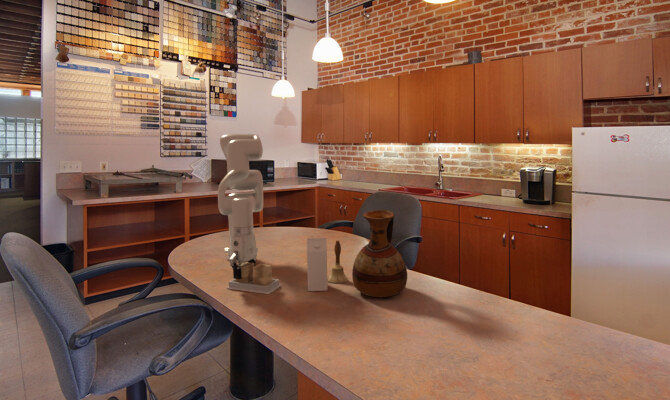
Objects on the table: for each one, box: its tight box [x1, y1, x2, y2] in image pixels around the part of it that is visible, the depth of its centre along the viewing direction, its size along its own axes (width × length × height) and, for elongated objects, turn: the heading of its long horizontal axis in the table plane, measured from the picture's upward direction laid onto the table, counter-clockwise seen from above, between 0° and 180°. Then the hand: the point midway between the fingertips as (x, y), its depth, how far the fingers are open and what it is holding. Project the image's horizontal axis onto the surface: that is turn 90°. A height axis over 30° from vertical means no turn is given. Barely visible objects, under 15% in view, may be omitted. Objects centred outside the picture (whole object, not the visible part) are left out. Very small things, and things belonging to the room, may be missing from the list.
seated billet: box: [253, 263, 273, 286], centre depth 148 cm, size 5×5×8 cm
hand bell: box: [327, 240, 349, 284], centre depth 156 cm, size 8×8×16 cm
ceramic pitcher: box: [351, 209, 408, 298], centre depth 141 cm, size 20×20×30 cm
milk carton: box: [306, 237, 328, 292], centre depth 147 cm, size 7×7×19 cm
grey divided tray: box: [226, 278, 282, 295], centre depth 149 cm, size 18×9×3 cm, turn 69°
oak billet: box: [236, 261, 254, 283], centre depth 150 cm, size 5×5×8 cm
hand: (245, 274), depth 150 cm, fingers open, 9 cm apart
